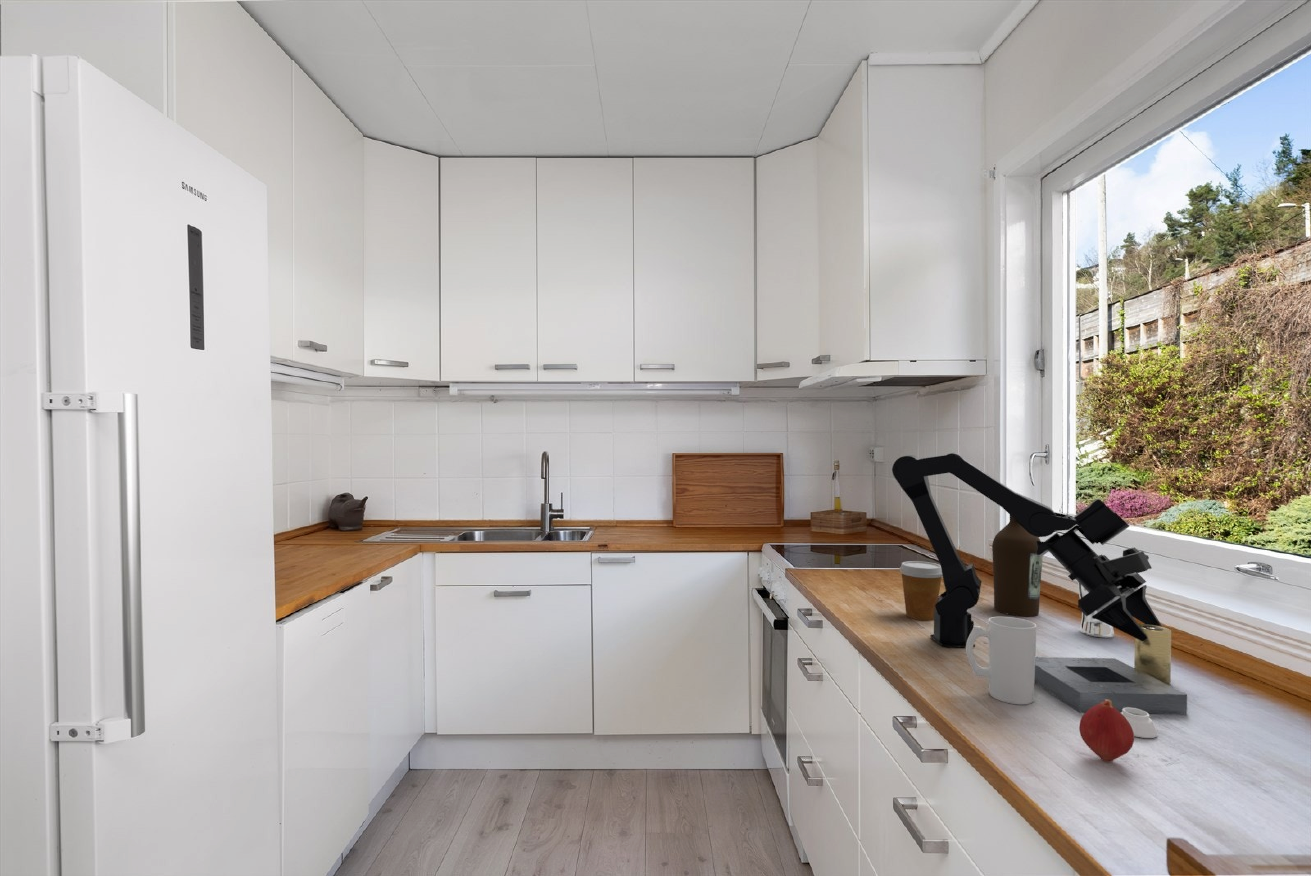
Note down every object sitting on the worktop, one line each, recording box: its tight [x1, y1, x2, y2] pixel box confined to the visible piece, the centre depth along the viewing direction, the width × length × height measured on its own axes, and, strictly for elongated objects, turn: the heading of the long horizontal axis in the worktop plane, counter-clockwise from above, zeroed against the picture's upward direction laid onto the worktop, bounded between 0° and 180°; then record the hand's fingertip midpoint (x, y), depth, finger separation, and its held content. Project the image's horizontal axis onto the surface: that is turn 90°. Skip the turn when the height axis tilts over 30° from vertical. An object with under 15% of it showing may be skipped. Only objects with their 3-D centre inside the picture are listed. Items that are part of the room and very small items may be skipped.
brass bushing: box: [1133, 623, 1172, 686], centre depth 113 cm, size 5×5×9 cm
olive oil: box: [991, 514, 1044, 617], centre depth 157 cm, size 11×11×25 cm
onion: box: [1078, 699, 1135, 763], centre depth 85 cm, size 6×6×8 cm
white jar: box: [1121, 707, 1159, 739], centre depth 93 cm, size 5×3×5 cm
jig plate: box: [1034, 656, 1188, 715], centre depth 107 cm, size 16×16×3 cm
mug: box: [965, 616, 1037, 705], centre depth 106 cm, size 10×7×12 cm, turn 71°
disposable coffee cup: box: [899, 560, 943, 621], centre depth 152 cm, size 10×10×12 cm
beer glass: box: [1077, 581, 1115, 639], centre depth 140 cm, size 7×7×15 cm
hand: (1153, 634), depth 113 cm, fingers open, 9 cm apart
